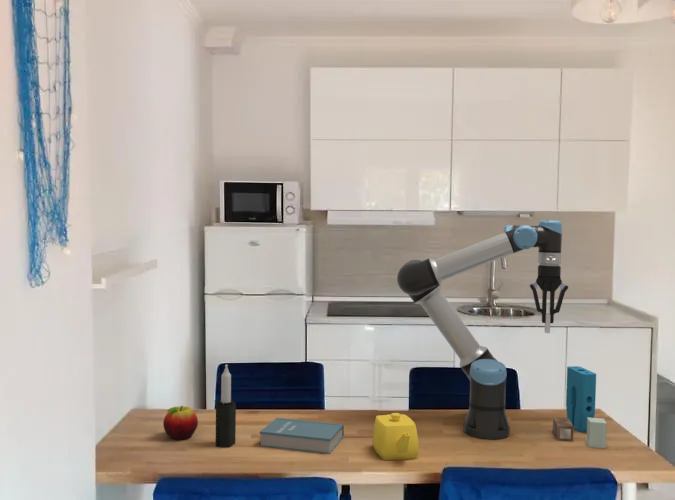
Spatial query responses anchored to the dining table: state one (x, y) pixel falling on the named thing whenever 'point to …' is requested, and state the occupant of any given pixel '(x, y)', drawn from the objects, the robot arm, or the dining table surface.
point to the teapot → (395, 437)
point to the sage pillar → (596, 432)
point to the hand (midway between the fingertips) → (547, 332)
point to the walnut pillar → (563, 429)
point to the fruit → (180, 422)
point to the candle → (225, 413)
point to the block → (580, 396)
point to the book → (302, 435)
